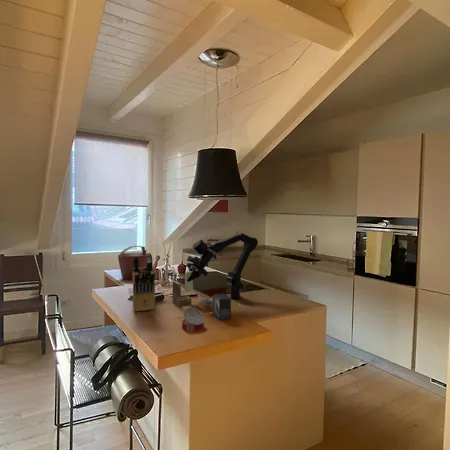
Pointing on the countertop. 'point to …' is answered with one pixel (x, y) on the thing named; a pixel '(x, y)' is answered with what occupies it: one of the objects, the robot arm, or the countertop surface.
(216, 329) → the countertop surface
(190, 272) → the green board
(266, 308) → the countertop surface
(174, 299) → the walnut rack
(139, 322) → the countertop surface
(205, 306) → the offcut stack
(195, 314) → the canned food
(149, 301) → the knife block
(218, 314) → the small box
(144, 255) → the bucket
